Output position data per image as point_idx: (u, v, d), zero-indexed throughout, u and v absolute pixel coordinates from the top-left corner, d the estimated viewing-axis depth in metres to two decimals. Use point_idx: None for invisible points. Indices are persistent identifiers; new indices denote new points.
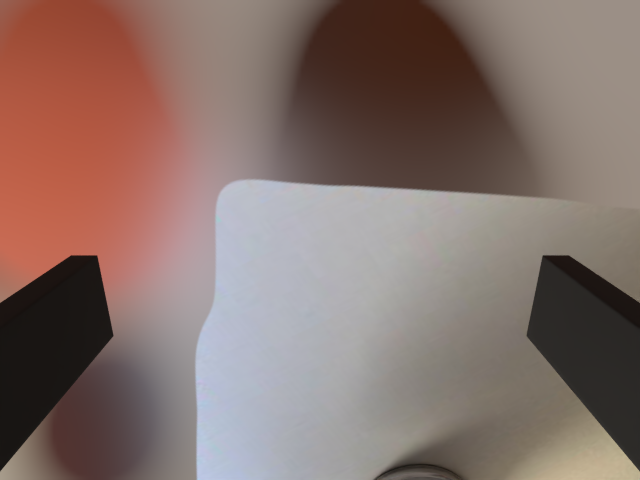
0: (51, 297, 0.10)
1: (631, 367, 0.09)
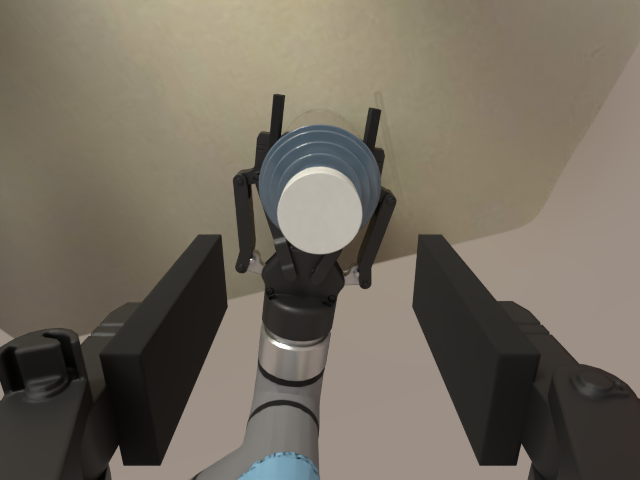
0: (204, 267, 0.12)
1: (452, 321, 0.10)
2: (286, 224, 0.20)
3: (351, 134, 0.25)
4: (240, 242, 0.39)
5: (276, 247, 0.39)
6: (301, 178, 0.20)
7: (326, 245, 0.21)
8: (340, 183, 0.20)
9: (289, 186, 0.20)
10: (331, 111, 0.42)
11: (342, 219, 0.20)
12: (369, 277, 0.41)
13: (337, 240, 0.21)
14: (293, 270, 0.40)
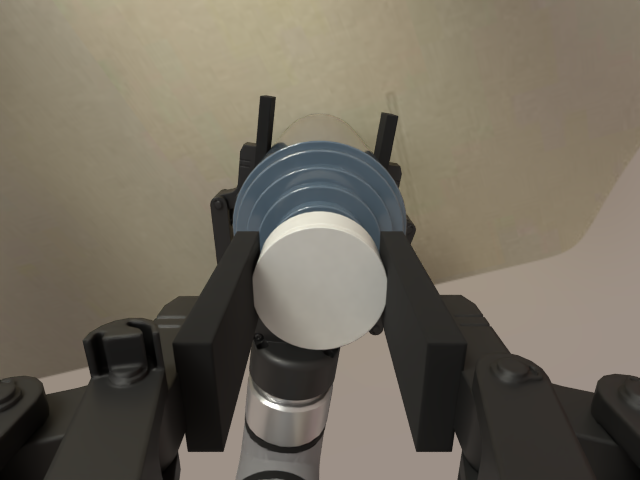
0: (249, 262, 0.12)
1: (400, 314, 0.11)
2: (266, 306, 0.13)
3: (365, 155, 0.17)
4: None
5: None
6: (289, 236, 0.12)
7: (330, 337, 0.13)
8: (353, 243, 0.12)
9: (270, 248, 0.12)
10: (333, 116, 0.35)
11: (355, 298, 0.13)
12: (380, 321, 0.33)
13: (347, 329, 0.13)
14: None
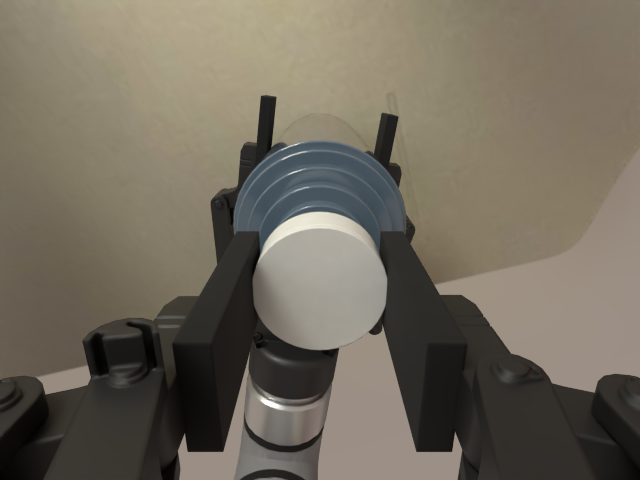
0: (249, 262, 0.12)
1: (400, 314, 0.11)
2: (343, 336, 0.13)
3: (365, 155, 0.17)
4: None
5: None
6: (267, 326, 0.13)
7: (370, 274, 0.12)
8: (262, 271, 0.12)
9: (283, 339, 0.13)
10: None
11: (320, 258, 0.12)
12: (380, 321, 0.33)
13: (358, 259, 0.12)
14: None
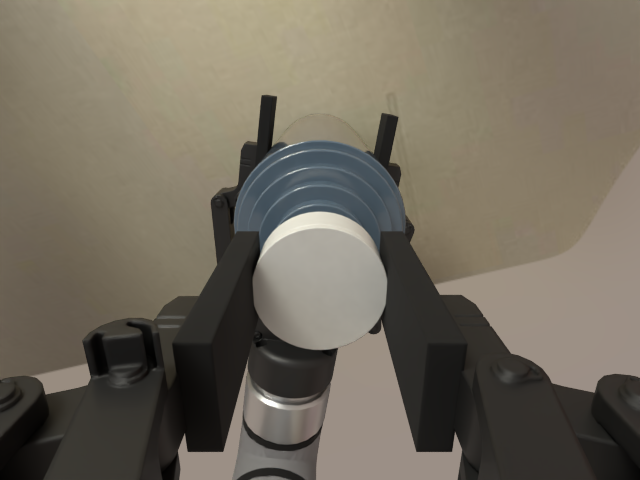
0: (248, 262, 0.12)
1: (400, 314, 0.11)
2: (366, 261, 0.12)
3: (365, 155, 0.17)
4: None
5: None
6: (365, 332, 0.13)
7: (290, 250, 0.12)
8: (307, 343, 0.13)
9: (379, 316, 0.13)
10: (334, 116, 0.35)
11: (283, 297, 0.13)
12: (379, 320, 0.33)
13: (276, 264, 0.12)
14: None
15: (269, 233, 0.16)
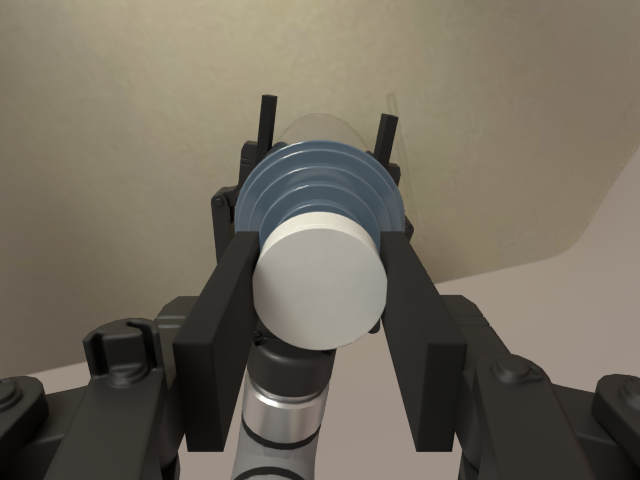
0: (249, 262, 0.12)
1: (400, 314, 0.11)
2: (277, 256, 0.12)
3: (365, 154, 0.17)
4: None
5: None
6: (358, 241, 0.12)
7: (280, 323, 0.13)
8: (380, 294, 0.13)
9: (337, 231, 0.12)
10: (334, 116, 0.35)
11: (331, 323, 0.13)
12: (378, 320, 0.33)
13: (297, 332, 0.13)
14: None
15: (269, 232, 0.16)
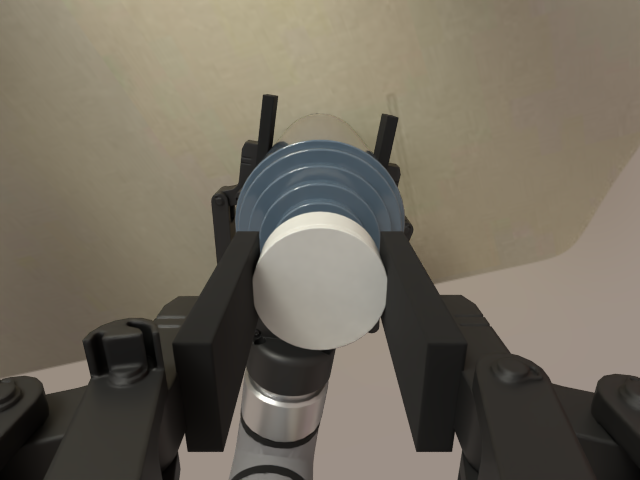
0: (249, 262, 0.12)
1: (400, 314, 0.11)
2: (289, 333, 0.13)
3: (366, 154, 0.18)
4: None
5: None
6: (258, 267, 0.12)
7: (360, 321, 0.13)
8: (311, 235, 0.12)
9: (253, 287, 0.13)
10: (334, 116, 0.35)
11: (353, 276, 0.12)
12: None
13: (369, 305, 0.13)
14: None
15: (270, 231, 0.16)
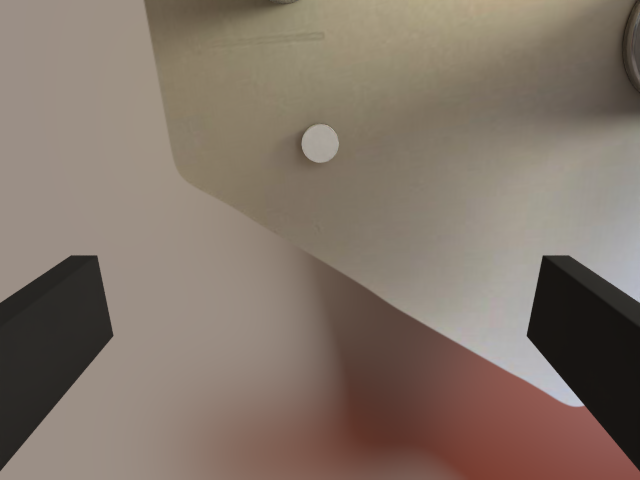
0: (52, 297, 0.10)
1: (631, 367, 0.09)
2: (311, 156, 0.47)
3: None
4: None
5: None
6: (303, 136, 0.46)
7: (331, 153, 0.47)
8: (317, 127, 0.46)
9: (302, 142, 0.47)
10: None
11: (329, 139, 0.46)
12: None
13: (333, 148, 0.47)
14: None
15: None
